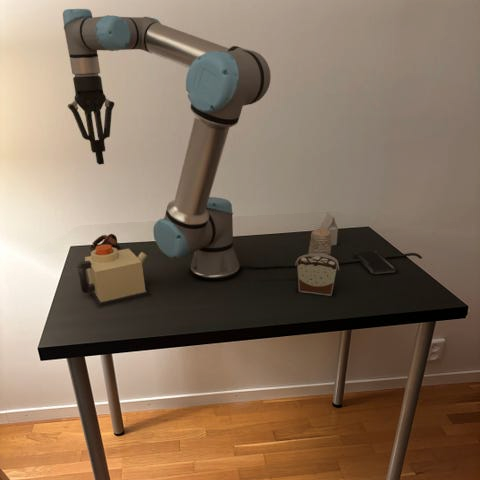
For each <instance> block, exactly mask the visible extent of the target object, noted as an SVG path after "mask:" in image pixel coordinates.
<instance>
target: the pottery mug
mask: <svg viewBox="0 0 480 480" xmlns="http://www.w3.org/2000/svg"><path fill="white" fill-rule="evenodd" d="M104 244H107V245H111V246H112V247H113V248H116V249H117V250H118V251H119V250H122V248H121V246H120V245H119V243H118V238H117V236H116V235H115V234H114V233H110V234H108V235H107V234H102V235H101V236H98V237H97V238H96V239H95V240H94V241H93V242H92V244H91V245H90V246H89V250H90V251H91V252H92V251H93V250H95V249H96V247H97V246H99V245H104Z"/></svg>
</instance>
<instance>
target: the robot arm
mask: <svg viewBox="0 0 480 480" xmlns="http://www.w3.org/2000/svg"><path fill="white" fill-rule="evenodd" d="M62 19H63V30H64V35H65V40H66V41H65V42H66V46H67V51H68V57H69V62H70V68H71V74H72V75H74V76H73V78H72V82H73V86H74V93H75V95H74V100H73V101H72V102H71V103H68V104H67V108H68V109H69V110H70V112H71V113H72V115H73V117H74V120H75V122H76V124H77V127H78V129H79V133H80V134H81V137H82V138H83V139H84V140H86V141H89V144H90V150H91V152H92V153H94V154H95V159H96V160H95V161H96V164H98V165H105V161H104V160H105V159H104V152H106V144H105V143H106V142H105V140H106V139H107V138H110V137H111V126H112V114H113V109H114V107H115V102H114V101H113V100H112V101H111V100H110V99H108V98H107V96H106V95H105V93H104V89H103V82H102V81H103V80H102V77H101V75H99V74H101V67H100V60H99V54H98V51H110V52H114V51H117V52H118V51H127V50H130V51H131V50H132V51H133V50H140V51H144V52H147V53H149V54H152V55H154V56H157V57H159V58H163V59H164V60H168V61H170V62H172V63H175V64H177V65H179V66H181V67H185V68H187V69H188V71H187V73H186V78H185V90H186V92H187V93H188V94H187V98H188V100H189V102H190V107H189V108H190V111H191V113H192V114H193V115H194V117H193V123H192V126H191V130H190V134H189V138H188V143H187V147H186V151H185V155H184V158H183V159H184V160H183V164H182V168H181V172H180V176H179V180H178V184H177V188H176V192H175V197H174V199H172V200H170V201H169V202H168V204H167V206H166V209H165V214H164V217H163V218H160V219H158V220H157V221H156V222H155V223H154V225H153V230H152V231H153V239H154V240H155V243H156V245H157V247H158V248H159V250H160V251H161V252H162V253H163V254H164V255H165V256H167V257H168V258H170V259H175V260H179V259H182V258H185V257H188V256H189V255H192V254H193V253H194V254H193V257H192V260H191V262H190V271H191V275H192V276H193V277H194V278H196V279H198V280H202V281H207V282H208V281H210V282H218V281H225V280H229V279H232V278H233V277H236V276H237V275H239V273H240V271H241V269H240V268H252V269H272V268H297V265H296V266H295V264H296V263H281V264H280V263H279V264H247V263H240V261H239V260H238V259H239V258H238V257H237V254H236V252H235V248H234V234H233V233H234V230H233V228H234V224H233V215H234V212H233V206H232V203H231V201H230V200H228V199H226V198H222V197H216V196H210V195H211V193H212V189H213V187H214V182H215V179H216V176H217V173H218V169H219V165H220V162H221V158H222V155H223V152H224V148H225V145H226V142H227V138H228V135H229V132H230V129H231V128H232V127H234V126H236V125H237V124H238V123H239V120H240V117H241V114H242V110H243V107H244V106H248V105H253V104H255V103H257V102H259V101H260V100H261V99H262V98H264V97H265V95H266V94H267V92H268V90H269V88H270V84H271V79H272V78H271V77H272V76H271V69H270V66H269V63H268V62H267V60H266V58H265V57H263V55H262V54H260V53H258V52H257V51H254V50H251V49H246V48H243V47H240V46H238V45H232V46H230V47H226V46H223V45H221V44H218V43H215V42H214V41H213V42H212V41H209V40H207V39H205V38H202V37H199V36H196V35H193V34H190V33H187V32H184V31H181V30H179V29H176V28H173V27H170V26H168V25H165V24H162V23H161V22H160V21H159V19H157V18H155V17H150V16H138V17H136V16H135V17H133V16H118V15H107V14H106V15H103V16H94V17H93V13H92V11H91V10H90V9H89V8H66V9H64V10H63V11H62ZM103 106H104V107H105V110H104V123H103V122H102V113H101V110H102V108H103ZM79 107H80V109H82V110H83V111H84V116H85V123H86V126H85V124H84V122H83V119H82V117H81V115H80V113H79ZM92 112H93V114H92ZM93 115H94V121H93ZM94 123H95V128H96V134H97V139H96V137H95V136H96V135H95V129H94ZM86 129H87V130H86ZM382 256H383V257H384V258H385V259H391V258H405V257H411V256H413V257H416V258H418V259H421V260H422V259H423V257H422V255H420V253H416V252H408V253H397V254H396V253H395V254H387V255H382ZM337 261H338V264H339V265H344V264H353V263H359V262H360V261H361V259H357V258H356V259H347V260H337ZM360 263H361V262H360Z"/></svg>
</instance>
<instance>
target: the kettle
mask: <svg viewBox="0 0 480 480" xmlns="http://www.w3.org/2000/svg"><path fill="white" fill-rule="evenodd" d="M137 257H138V256H137V255H136V254H135V253H134V252H133V251H132V250H131V249H130V248H124V249H121V250H119V251H118V250H117V248H113V247H112V253H111V254H108V255H97V253H96V249H95V250H93V251H92V250H91V251H90V255H88V256H84V261H90V262H91V268H89V269H86V271H87V272H86V273H87V278H88V281H89V282H88V283H89V284H92V283H93V284H94V286H95V291H94V293H95V294H96V296H97V297H98V299H99V300H100V302H104V301H108V300H113V299H117V298H121V297H125V296H129V295H134V294H138V293H142V292H146V291H147V290H146V291H145V289H146V285H145V284H146V283H145V277H144V269H143V264H142V262H141V261H140V260H139V259H138V258H137Z"/></svg>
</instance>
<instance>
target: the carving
mask: <svg viewBox="0 0 480 480" xmlns="http://www.w3.org/2000/svg"><path fill="white" fill-rule="evenodd" d="M331 243H332V235H331V232H330V231H329V230H326V229H321V228H316V229H314V230H313V231H311V233H310V240H309V247H308V253H307V254H325V255H329V256H331V254H332V245H331Z"/></svg>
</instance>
